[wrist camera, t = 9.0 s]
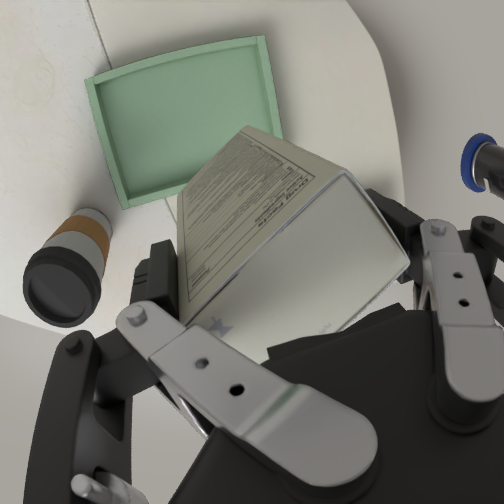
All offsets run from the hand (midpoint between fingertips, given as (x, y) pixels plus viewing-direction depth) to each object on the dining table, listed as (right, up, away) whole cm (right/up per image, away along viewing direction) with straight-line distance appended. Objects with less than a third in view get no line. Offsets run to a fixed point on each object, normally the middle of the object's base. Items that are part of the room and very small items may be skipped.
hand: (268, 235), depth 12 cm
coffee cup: (-22, +2, +26) cm, 34 cm away
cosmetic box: (-2, +4, +7) cm, 8 cm away
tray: (-8, +15, +22) cm, 28 cm away
